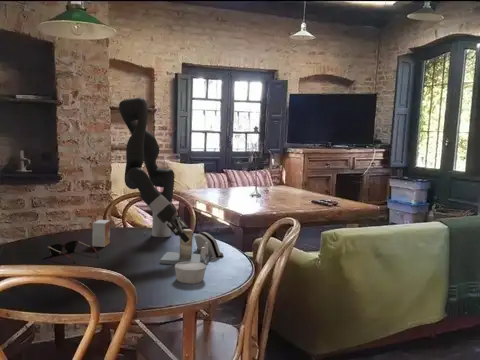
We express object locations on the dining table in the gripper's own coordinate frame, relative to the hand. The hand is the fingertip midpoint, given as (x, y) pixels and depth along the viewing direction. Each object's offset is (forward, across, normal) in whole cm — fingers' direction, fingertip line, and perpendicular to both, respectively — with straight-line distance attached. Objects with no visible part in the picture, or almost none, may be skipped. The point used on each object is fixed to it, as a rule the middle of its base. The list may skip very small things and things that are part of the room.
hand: (189, 238), depth 186 cm
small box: (-23, +16, +37) cm, 46 cm away
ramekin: (+10, -23, +3) cm, 25 cm away
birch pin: (+4, 0, +6) cm, 8 cm away
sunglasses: (-25, -5, +39) cm, 46 cm away
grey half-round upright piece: (+11, +14, +3) cm, 18 cm away
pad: (+6, 0, +7) cm, 9 cm away
